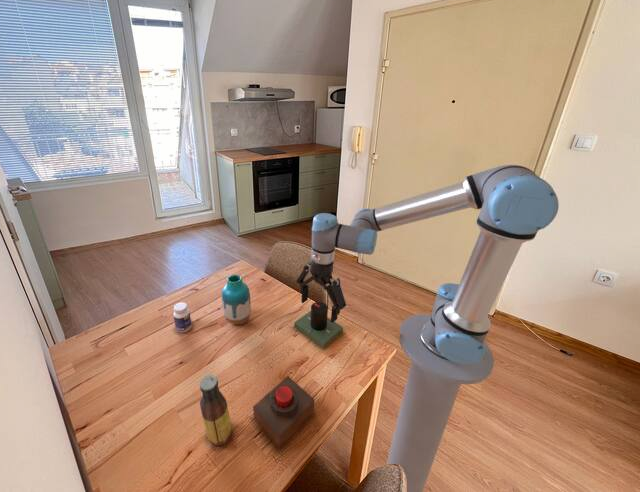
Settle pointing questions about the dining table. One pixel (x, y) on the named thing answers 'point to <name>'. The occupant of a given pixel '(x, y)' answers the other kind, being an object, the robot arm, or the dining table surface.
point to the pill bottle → (182, 317)
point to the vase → (236, 300)
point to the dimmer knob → (319, 316)
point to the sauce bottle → (214, 411)
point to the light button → (283, 396)
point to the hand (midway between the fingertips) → (318, 310)
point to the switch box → (283, 413)
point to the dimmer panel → (318, 337)
